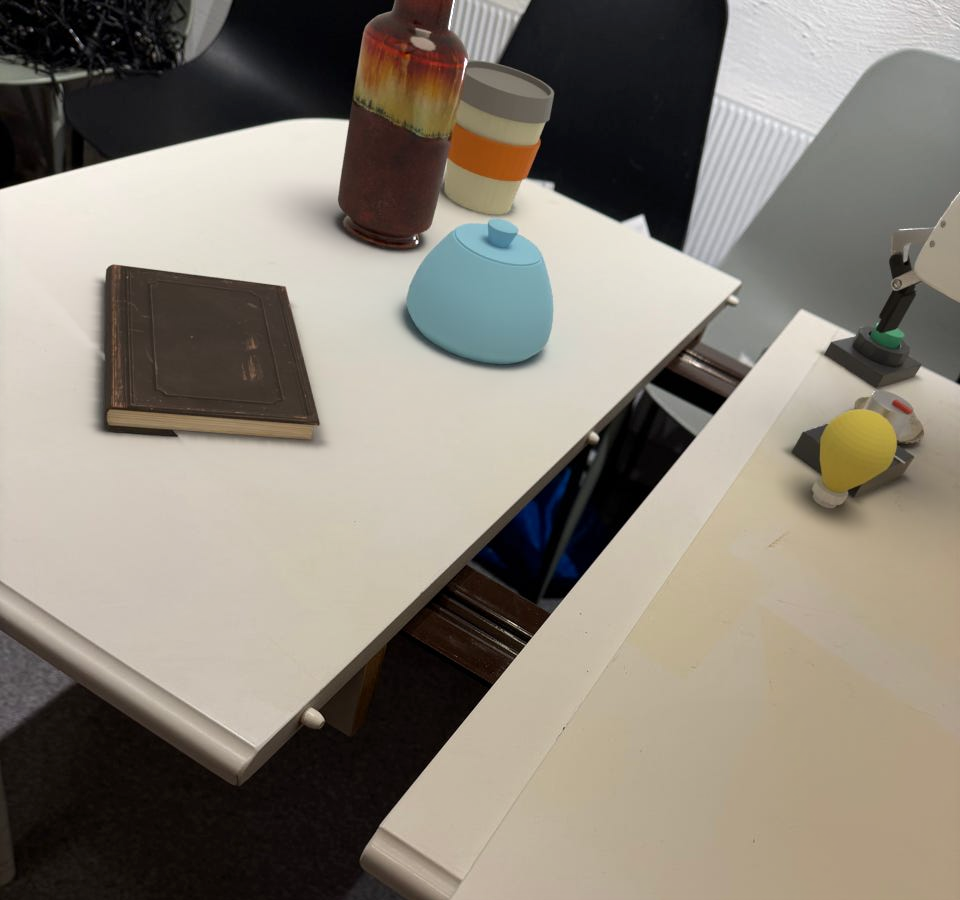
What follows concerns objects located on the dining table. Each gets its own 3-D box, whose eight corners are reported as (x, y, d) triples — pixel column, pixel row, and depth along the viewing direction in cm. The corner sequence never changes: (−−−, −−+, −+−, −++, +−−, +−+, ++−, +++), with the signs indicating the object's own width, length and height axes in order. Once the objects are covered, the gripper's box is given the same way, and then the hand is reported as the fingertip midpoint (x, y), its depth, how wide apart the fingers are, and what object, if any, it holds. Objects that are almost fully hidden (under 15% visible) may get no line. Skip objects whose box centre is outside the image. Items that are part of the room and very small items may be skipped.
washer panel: (842, 434, 106) (857, 409, 104) (907, 479, 102) (924, 454, 100) (786, 454, 99) (801, 428, 97) (853, 502, 95) (870, 476, 93)
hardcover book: (283, 308, 94) (285, 286, 92) (315, 446, 79) (319, 422, 77) (105, 287, 88) (105, 262, 87) (104, 431, 73) (104, 404, 71)
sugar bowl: (571, 363, 101) (609, 256, 94) (461, 382, 92) (493, 265, 85) (484, 293, 108) (513, 188, 100) (374, 304, 99) (396, 190, 92)
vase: (340, 205, 116) (381, -53, 98) (430, 230, 117) (486, -19, 100) (326, 240, 108) (368, -34, 90) (423, 266, 109) (482, 2, 92)
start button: (878, 333, 121) (885, 320, 120) (902, 348, 120) (909, 335, 118) (864, 337, 119) (871, 323, 118) (887, 352, 117) (895, 338, 116)
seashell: (839, 441, 109) (913, 459, 106) (846, 417, 106) (921, 435, 103) (860, 405, 114) (930, 422, 111) (866, 382, 111) (938, 399, 108)
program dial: (841, 431, 99) (865, 390, 96) (863, 424, 102) (888, 384, 99) (875, 455, 97) (901, 414, 94) (897, 448, 100) (923, 408, 97)
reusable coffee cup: (424, 174, 131) (449, 51, 121) (511, 192, 134) (543, 74, 124) (437, 212, 122) (466, 83, 112) (531, 231, 126) (567, 107, 116)
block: (862, 347, 126) (878, 319, 124) (912, 379, 123) (930, 351, 120) (822, 357, 120) (838, 328, 118) (874, 391, 117) (891, 361, 114)
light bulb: (863, 532, 92) (922, 443, 85) (799, 517, 90) (853, 426, 84) (843, 491, 97) (897, 404, 90) (782, 477, 95) (832, 388, 89)
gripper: (1147, 214, 80) (1021, 395, 92) (968, 130, 88) (873, 307, 99) (1115, 220, 76) (987, 409, 87) (929, 131, 83) (834, 316, 95)
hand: (926, 355), depth 93 cm, fingers open, 9 cm apart
